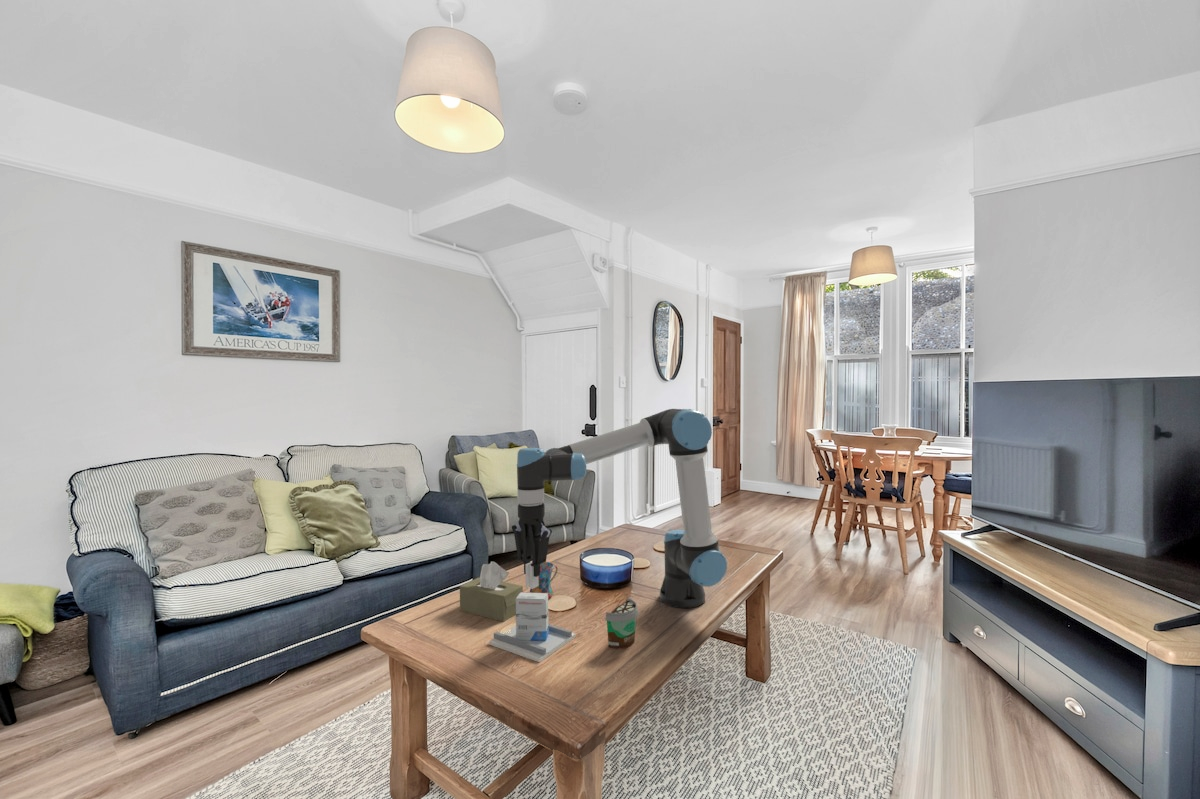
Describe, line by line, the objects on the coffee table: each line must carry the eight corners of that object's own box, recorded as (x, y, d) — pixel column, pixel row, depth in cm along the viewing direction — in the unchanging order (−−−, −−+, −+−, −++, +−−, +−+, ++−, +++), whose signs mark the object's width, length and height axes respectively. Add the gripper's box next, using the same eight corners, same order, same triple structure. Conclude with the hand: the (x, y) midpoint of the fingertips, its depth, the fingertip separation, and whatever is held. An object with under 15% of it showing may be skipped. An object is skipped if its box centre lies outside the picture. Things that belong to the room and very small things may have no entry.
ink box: (549, 633, 146) (548, 592, 146) (546, 641, 141) (545, 599, 141) (520, 632, 147) (519, 591, 147) (515, 640, 142) (515, 598, 142)
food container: (625, 655, 135) (625, 617, 135) (605, 649, 139) (605, 612, 138) (646, 636, 146) (646, 601, 146) (627, 631, 149) (627, 597, 149)
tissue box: (524, 610, 164) (523, 561, 164) (504, 622, 156) (503, 571, 156) (479, 599, 174) (478, 553, 173) (458, 610, 165) (458, 562, 165)
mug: (538, 604, 169) (538, 572, 169) (521, 596, 175) (521, 566, 175) (566, 594, 177) (565, 563, 177) (549, 587, 184) (548, 557, 184)
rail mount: (575, 637, 146) (575, 628, 146) (539, 662, 132) (539, 652, 132) (527, 622, 155) (527, 614, 155) (489, 644, 142) (489, 635, 142)
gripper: (559, 503, 143) (560, 587, 143) (521, 498, 150) (522, 577, 151) (541, 508, 136) (543, 596, 137) (503, 503, 144) (504, 586, 144)
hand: (532, 586), depth 144 cm, fingers closed
